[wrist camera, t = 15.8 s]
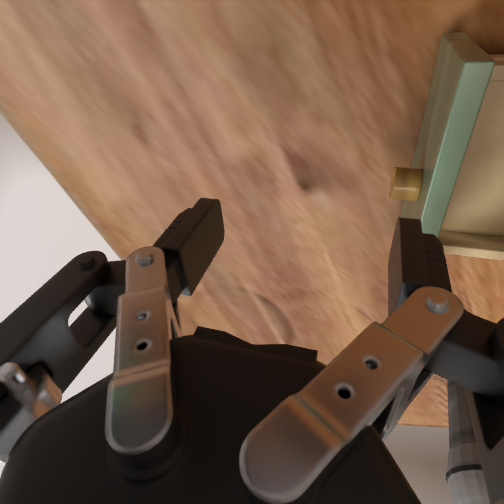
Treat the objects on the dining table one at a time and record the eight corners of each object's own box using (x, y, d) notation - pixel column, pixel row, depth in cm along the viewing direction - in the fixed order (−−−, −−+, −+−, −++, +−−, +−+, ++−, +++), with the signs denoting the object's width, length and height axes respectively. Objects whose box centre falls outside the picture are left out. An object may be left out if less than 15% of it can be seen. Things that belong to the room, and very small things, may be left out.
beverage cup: (421, 358, 40) (439, 591, 25) (491, 343, 35) (563, 616, 20) (453, 393, 42) (487, 627, 27) (523, 383, 37) (609, 656, 23)
